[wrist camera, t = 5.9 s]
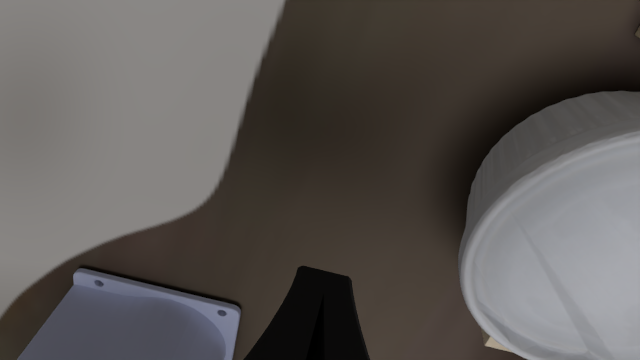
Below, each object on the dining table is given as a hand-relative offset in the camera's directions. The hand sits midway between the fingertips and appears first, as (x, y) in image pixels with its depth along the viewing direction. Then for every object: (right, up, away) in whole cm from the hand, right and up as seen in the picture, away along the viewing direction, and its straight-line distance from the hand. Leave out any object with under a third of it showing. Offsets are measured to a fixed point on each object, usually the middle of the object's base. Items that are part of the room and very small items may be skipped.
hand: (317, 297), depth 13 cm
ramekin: (+11, +3, +8) cm, 14 cm away
